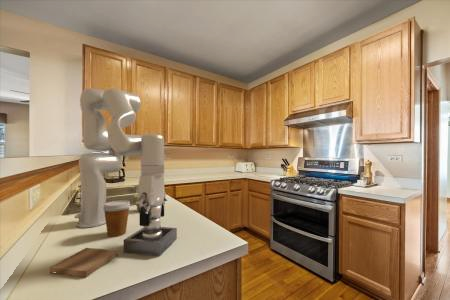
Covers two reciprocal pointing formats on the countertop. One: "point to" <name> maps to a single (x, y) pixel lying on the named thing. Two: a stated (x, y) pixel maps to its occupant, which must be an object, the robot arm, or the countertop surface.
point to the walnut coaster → (84, 262)
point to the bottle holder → (150, 243)
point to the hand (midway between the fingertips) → (152, 220)
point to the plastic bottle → (153, 223)
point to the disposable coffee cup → (116, 217)
